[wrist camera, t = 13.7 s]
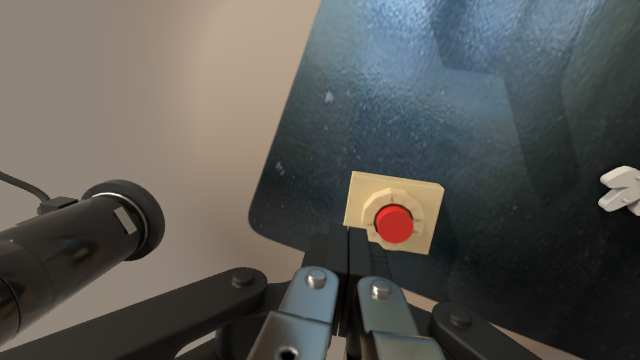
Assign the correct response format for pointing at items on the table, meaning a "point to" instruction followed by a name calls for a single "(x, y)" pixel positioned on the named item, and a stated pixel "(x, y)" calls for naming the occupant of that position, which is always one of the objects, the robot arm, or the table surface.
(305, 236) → the table surface
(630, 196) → the game controller
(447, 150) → the table surface
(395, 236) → the red button
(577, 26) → the table surface
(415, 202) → the button box
